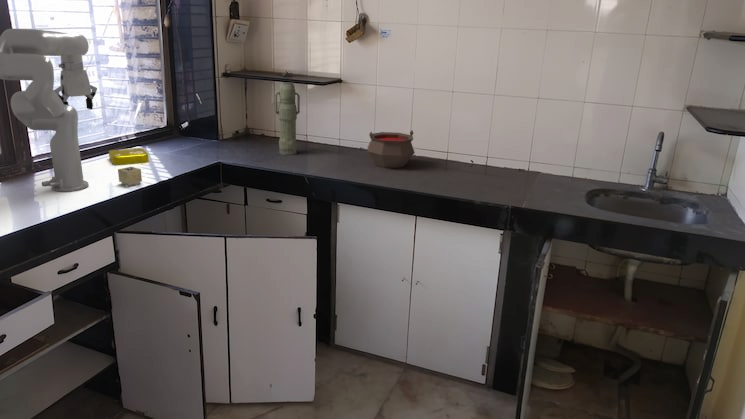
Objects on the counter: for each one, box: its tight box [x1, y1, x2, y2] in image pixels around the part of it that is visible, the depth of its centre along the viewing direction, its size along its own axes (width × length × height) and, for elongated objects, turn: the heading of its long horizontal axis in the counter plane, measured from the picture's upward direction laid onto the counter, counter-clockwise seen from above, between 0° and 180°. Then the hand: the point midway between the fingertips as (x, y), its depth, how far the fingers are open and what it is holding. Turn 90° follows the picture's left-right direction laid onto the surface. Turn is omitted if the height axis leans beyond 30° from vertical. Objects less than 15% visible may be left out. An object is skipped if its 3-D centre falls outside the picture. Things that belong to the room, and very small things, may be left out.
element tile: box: [108, 147, 150, 166], centre depth 257 cm, size 15×15×5 cm
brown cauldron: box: [367, 129, 416, 169], centre depth 267 cm, size 24×24×16 cm
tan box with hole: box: [117, 166, 143, 184], centre depth 222 cm, size 6×6×5 cm
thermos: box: [274, 81, 301, 156], centre depth 278 cm, size 9×12×35 cm
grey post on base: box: [120, 167, 141, 187], centre depth 222 cm, size 5×5×6 cm
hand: (78, 110), depth 227 cm, fingers open, 9 cm apart
